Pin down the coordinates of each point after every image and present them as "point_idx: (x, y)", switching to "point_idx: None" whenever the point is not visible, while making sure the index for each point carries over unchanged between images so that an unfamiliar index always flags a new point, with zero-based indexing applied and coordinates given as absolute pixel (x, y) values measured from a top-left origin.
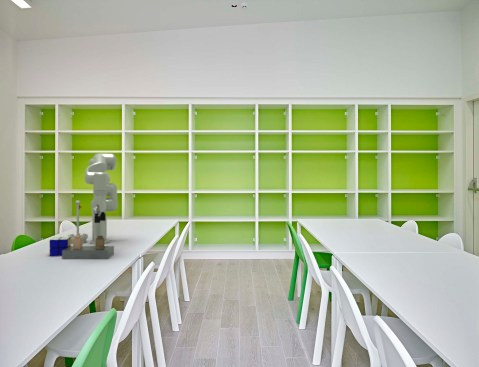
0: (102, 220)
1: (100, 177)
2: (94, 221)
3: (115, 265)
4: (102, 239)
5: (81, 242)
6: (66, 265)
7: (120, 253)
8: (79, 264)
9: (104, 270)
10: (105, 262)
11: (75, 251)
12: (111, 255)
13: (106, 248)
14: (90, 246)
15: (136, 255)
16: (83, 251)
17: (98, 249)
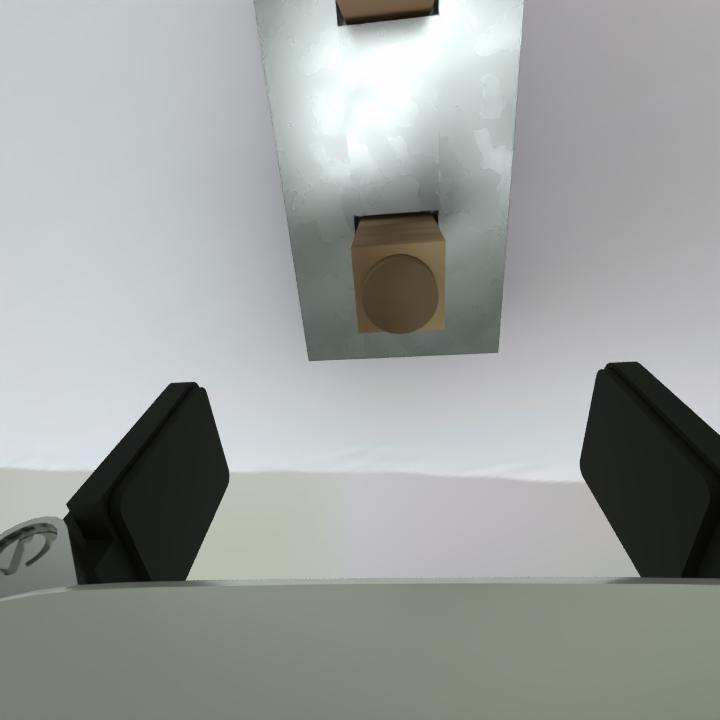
0: (589, 421)
1: None
2: (160, 397)
3: None
4: (360, 329)
5: None
6: (50, 64)
7: (503, 362)
8: (116, 173)
9: (54, 399)
10: (222, 345)
11: (257, 3)
12: None
13: None
14: (487, 100)
15: (434, 474)
16: (273, 114)
17: (334, 263)
